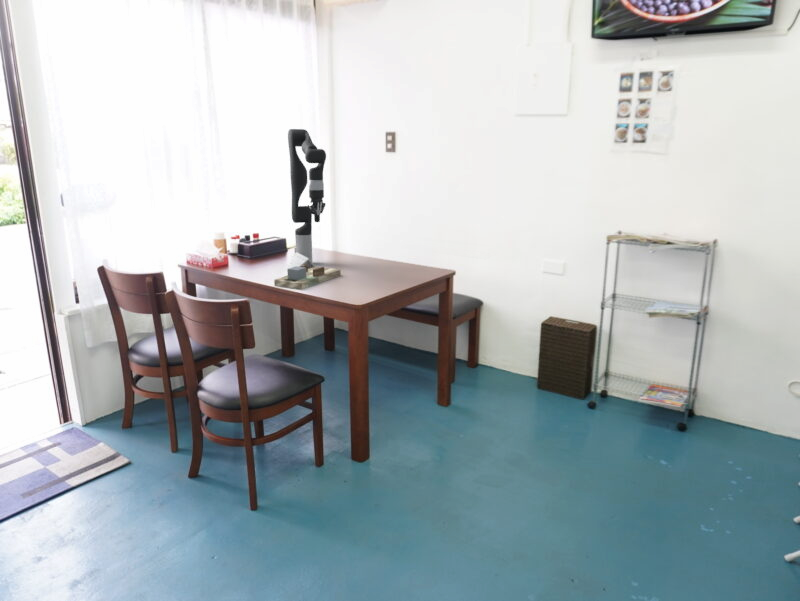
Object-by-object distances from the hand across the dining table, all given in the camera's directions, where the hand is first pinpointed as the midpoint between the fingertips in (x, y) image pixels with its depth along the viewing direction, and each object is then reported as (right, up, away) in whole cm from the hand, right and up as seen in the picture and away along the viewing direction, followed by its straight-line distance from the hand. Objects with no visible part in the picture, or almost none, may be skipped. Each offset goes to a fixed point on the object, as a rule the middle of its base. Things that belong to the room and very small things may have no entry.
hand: (317, 221), depth 300 cm
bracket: (-12, -25, +17) cm, 32 cm away
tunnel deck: (-3, -31, -8) cm, 32 cm away
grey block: (-8, -30, -17) cm, 35 cm away
